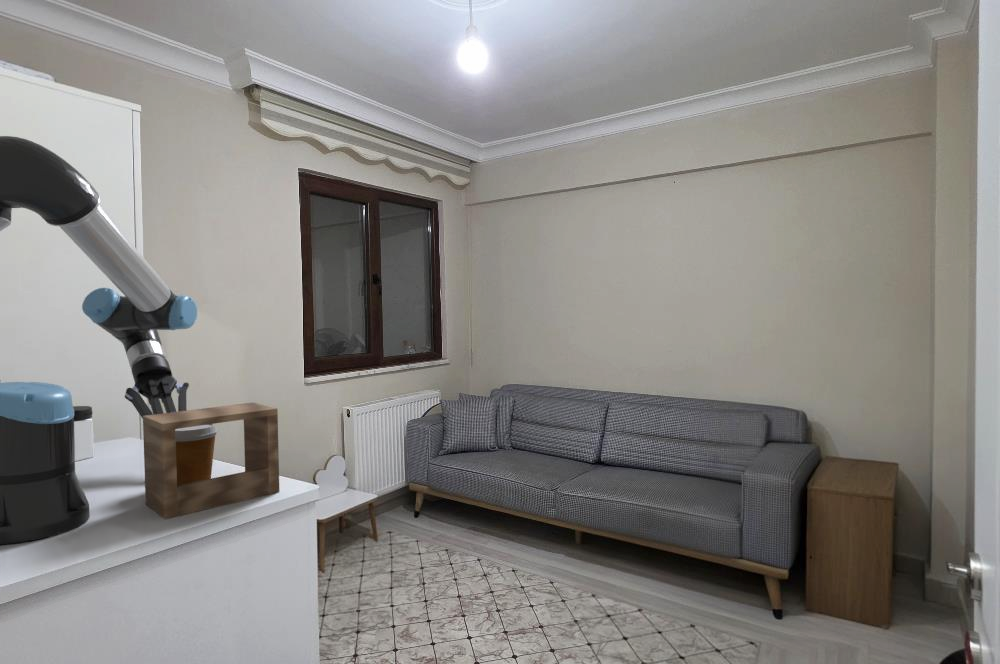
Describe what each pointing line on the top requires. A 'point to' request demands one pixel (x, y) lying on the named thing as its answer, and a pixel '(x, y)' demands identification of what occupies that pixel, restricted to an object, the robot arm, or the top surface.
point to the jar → (83, 432)
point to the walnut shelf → (215, 491)
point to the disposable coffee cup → (194, 453)
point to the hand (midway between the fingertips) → (176, 448)
